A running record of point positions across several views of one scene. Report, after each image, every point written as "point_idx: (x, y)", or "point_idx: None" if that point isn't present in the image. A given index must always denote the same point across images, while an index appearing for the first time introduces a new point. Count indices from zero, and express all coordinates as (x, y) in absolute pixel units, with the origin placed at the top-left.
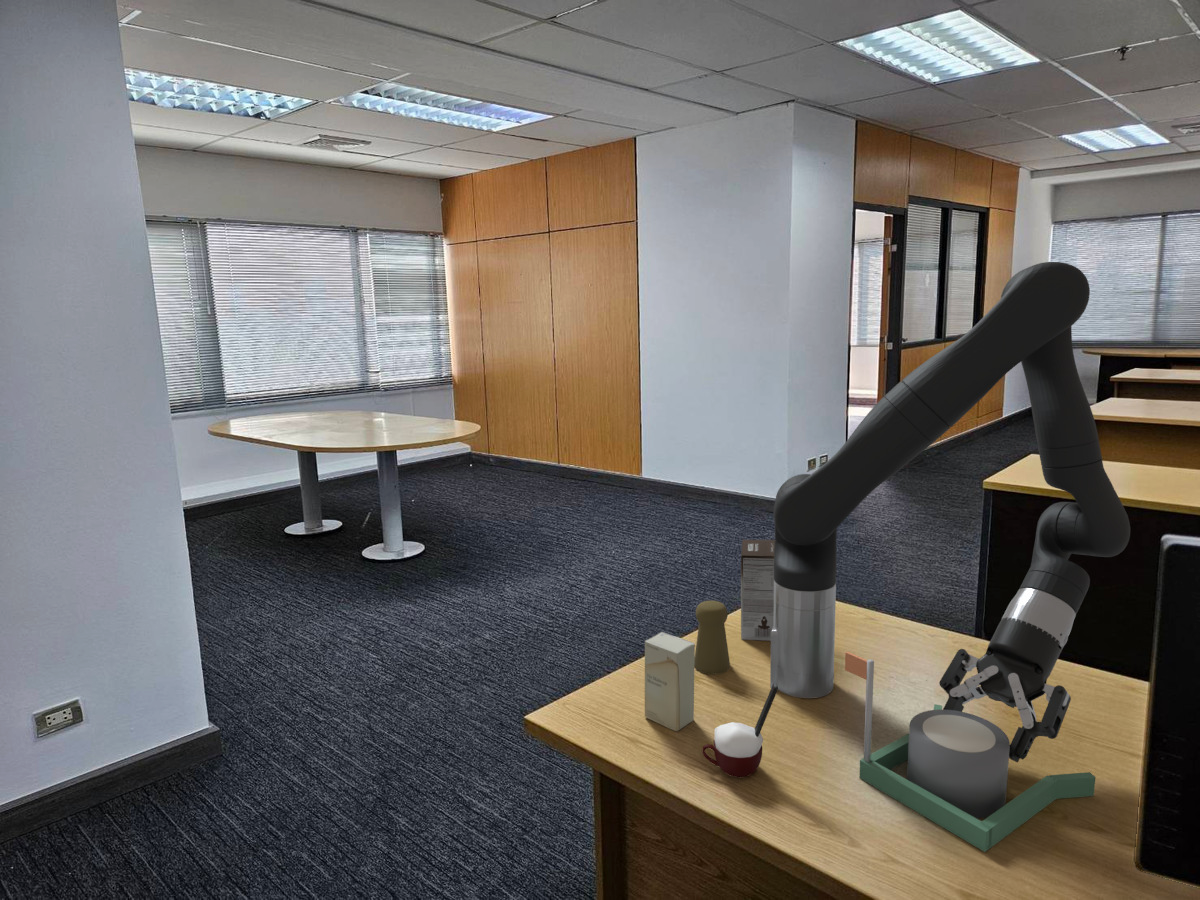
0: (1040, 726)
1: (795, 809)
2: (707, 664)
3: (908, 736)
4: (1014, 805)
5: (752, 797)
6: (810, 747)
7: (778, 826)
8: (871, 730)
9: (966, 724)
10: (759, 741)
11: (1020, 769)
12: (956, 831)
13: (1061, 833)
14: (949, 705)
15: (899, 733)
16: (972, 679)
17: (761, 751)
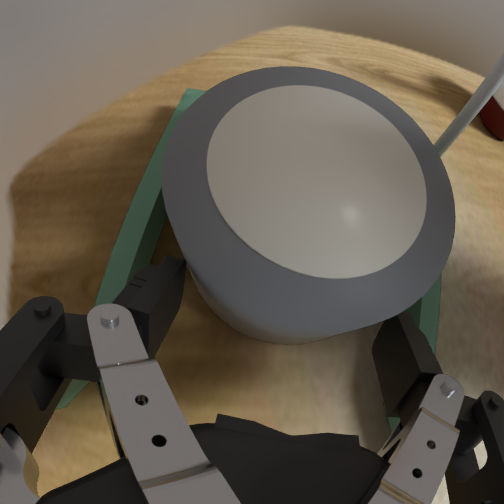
0: (62, 309)
1: (414, 84)
2: None
3: (434, 295)
4: (153, 176)
5: (450, 88)
6: (498, 212)
7: (402, 59)
8: (459, 118)
9: (329, 228)
10: (502, 89)
11: (194, 416)
12: None
13: (87, 229)
14: (426, 349)
15: (449, 367)
16: (440, 445)
17: (496, 106)
